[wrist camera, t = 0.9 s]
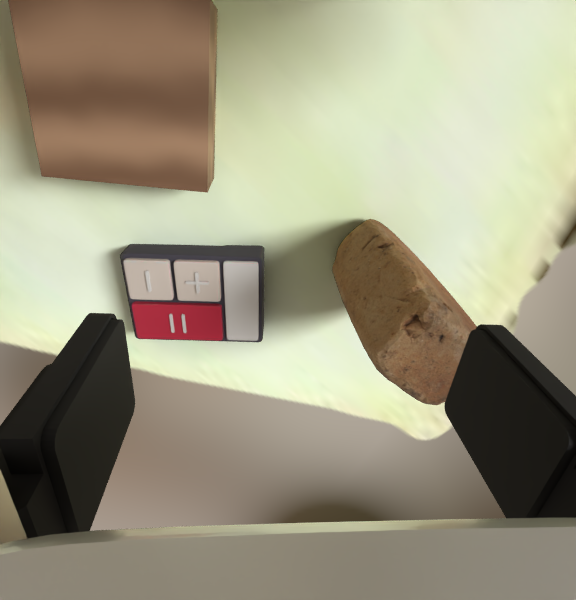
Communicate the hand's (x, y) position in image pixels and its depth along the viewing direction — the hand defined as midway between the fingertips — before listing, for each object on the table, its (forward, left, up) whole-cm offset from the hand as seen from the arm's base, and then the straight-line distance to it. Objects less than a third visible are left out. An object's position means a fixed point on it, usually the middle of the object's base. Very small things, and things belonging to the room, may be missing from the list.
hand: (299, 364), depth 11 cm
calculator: (+16, -7, -34) cm, 38 cm away
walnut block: (-4, -13, -33) cm, 36 cm away
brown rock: (+10, +13, -33) cm, 37 cm away
